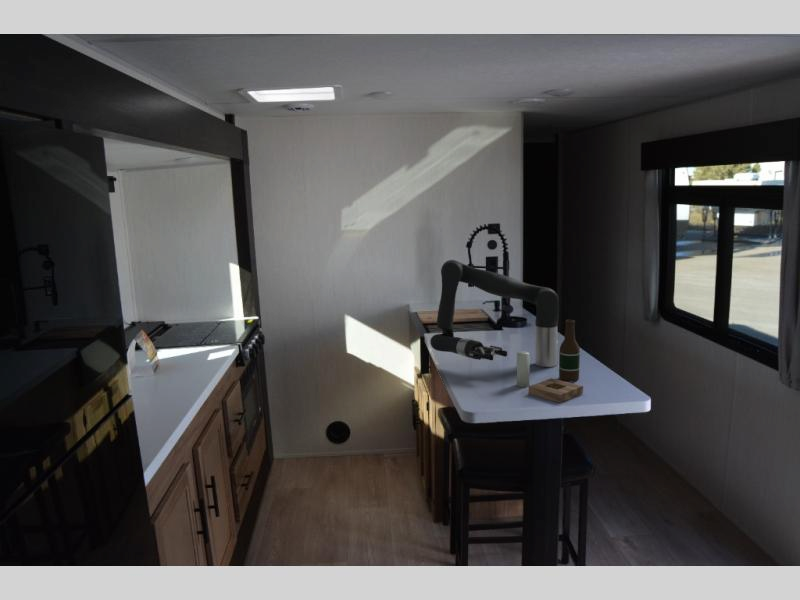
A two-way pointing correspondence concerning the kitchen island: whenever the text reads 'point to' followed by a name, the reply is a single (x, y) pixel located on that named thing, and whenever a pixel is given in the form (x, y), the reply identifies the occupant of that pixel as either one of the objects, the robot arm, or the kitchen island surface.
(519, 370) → the pale green cylinder
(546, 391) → the walnut block
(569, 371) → the beer bottle
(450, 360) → the kitchen island surface
